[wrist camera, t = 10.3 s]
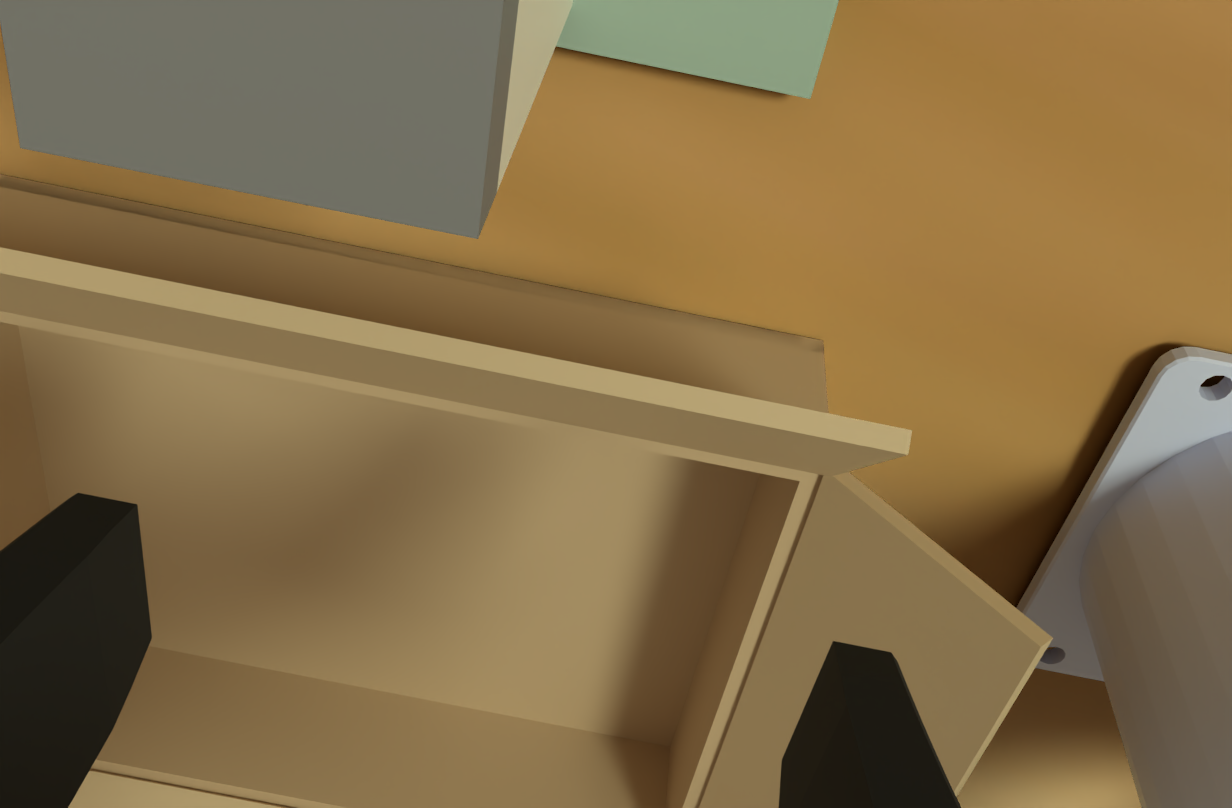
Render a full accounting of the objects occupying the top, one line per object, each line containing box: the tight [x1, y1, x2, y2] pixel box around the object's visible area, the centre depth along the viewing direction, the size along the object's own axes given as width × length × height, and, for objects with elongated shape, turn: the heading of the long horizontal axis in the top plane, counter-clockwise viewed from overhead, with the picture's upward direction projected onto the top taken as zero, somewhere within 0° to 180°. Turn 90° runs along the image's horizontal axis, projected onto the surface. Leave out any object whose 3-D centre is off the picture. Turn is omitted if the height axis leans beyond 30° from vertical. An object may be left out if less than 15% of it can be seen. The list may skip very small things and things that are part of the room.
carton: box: [0, 174, 1053, 808], centre depth 22 cm, size 18×18×6 cm
